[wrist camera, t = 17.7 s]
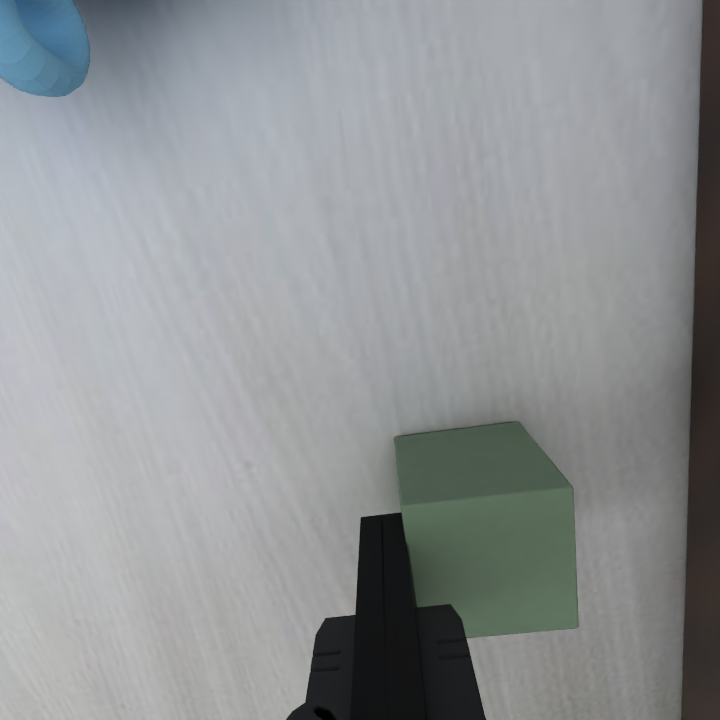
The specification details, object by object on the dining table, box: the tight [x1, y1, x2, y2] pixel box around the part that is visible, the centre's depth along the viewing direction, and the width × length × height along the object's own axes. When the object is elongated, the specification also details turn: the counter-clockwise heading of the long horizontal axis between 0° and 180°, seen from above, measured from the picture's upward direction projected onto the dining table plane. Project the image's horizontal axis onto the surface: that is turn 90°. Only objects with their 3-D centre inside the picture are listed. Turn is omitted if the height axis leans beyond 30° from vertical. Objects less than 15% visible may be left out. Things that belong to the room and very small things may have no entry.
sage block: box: [394, 422, 579, 638], centre depth 16 cm, size 5×5×5 cm
